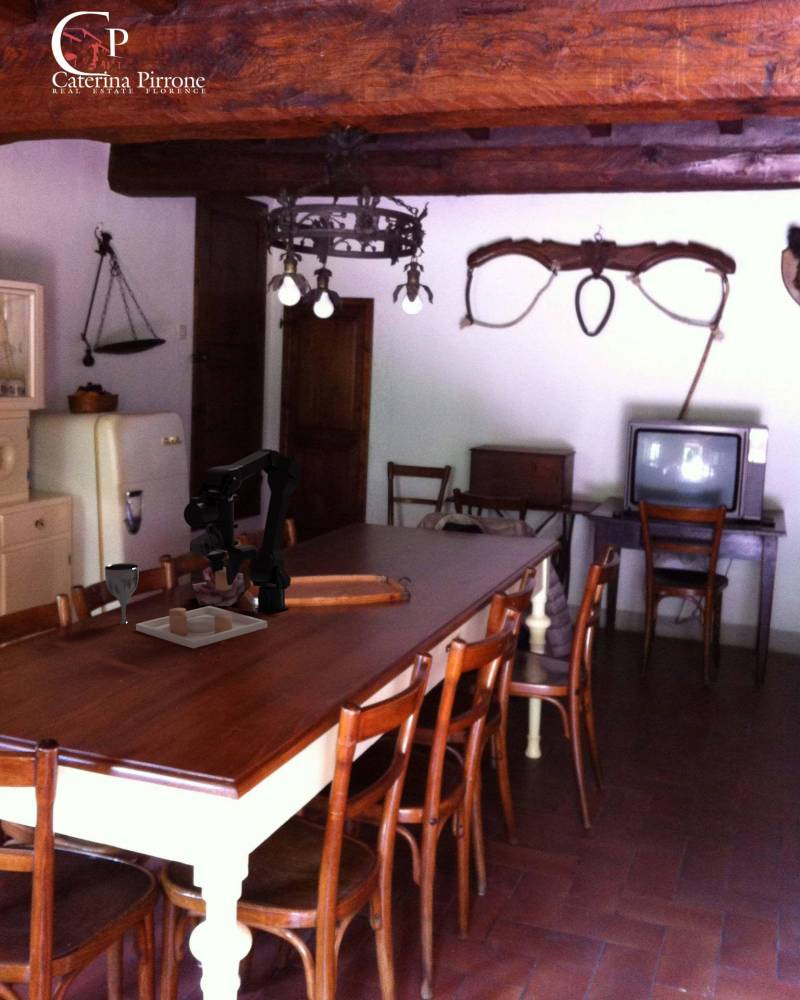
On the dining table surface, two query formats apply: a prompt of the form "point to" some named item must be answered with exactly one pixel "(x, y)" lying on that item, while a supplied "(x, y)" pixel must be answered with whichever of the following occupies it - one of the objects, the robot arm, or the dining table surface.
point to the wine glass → (122, 582)
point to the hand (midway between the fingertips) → (224, 583)
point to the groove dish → (202, 627)
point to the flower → (219, 597)
